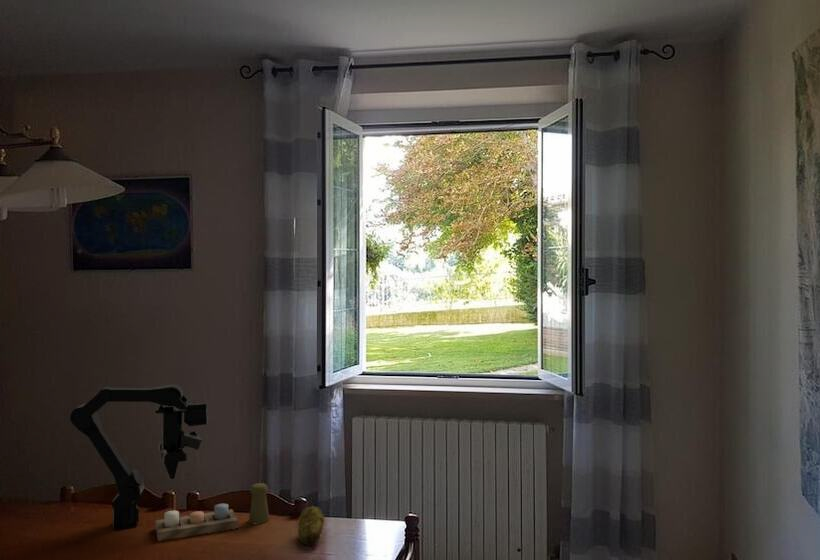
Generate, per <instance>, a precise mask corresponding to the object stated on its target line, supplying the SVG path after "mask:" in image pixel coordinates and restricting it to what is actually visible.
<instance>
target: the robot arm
mask: <svg viewBox="0 0 820 560" xmlns="http://www.w3.org/2000/svg"><path fill="white" fill-rule="evenodd" d="M110 402H114V403H115V402H116V403H117V402H118V403H120V402H121V403H122V402H123V403H124V402H126V403H127V402H131V403H133V402H134V403H135V402H136V403H138V402H139V403H144V402H145V403H148V402H149V403H152V404H156V405H160V406H159V407H157V409H156V410H155V412H154V413H155V414H161V417H162V418H161V422H162V424H161V425H162V426H161V427H162V429H161V434H162V438H161V440H160V441H159V443H158V448H159V449H158V450H159V451H163V453H161V454H160V456H161V459H162V462H163V464H164V466H165V469H166V472H167V474H168V477H169V478H170V480H174V479H175V477H176V472H177V469H178V465H179V463H181V462H186V461H187V452H186V451H185V447H187V448H190V449H194V450H197V451H200V448H201V446H202V443H203V439H202V437H201V436H199V435H198V434H197V431H195V430H192V429H191V430H190V431H189V432H188V433H186V432H185V431H184V429H183V423H184V424H185V425H187V427H203V426H209V425H208V424H209V411H208V402H202V403H191V402H190V401H189V400H188V398H186V396H185V395H184V390H183V388H182V387H181V386H180V385H179V384H177V383H172V384H165V385H160V386H156V387H111V386H106V387H103V388H102V389H101V390H99V392H98V393H97V394H96V395H95V396H93V398H91V399H90V400H89V401H88V402H87V403H86V402H85V403H82V404H80V405H78V406H77V407H76V408H74V409H73V410H72V411H71V413H70V416H69V420H70V423H71V424H72V425H73V426H74V427H75V428H76V429H77V431H79V432H80V433H81V434H83V435H85V436H86V437H87V438H88V440H89V441H90V443H91V444H92V445H93V447H94V448H95V450H96V451H97V453H98V455H99V456H100V458H101V460H102V461H103V462H104V464H105V465H106V467H107V468H108V470H109V471H110V473H111V474H112V476H113V478H114V482H115V487H116V490H117V494H116V496H115V497H114V498H113V500H112V502H111V507H112V509H113V510H112V511H113V513H112V514H113V521H112V529H113V530H114V531H115V530H123V529H129V528H130V529H131V528H135V527H138V523H139V522H140V518H139V517H140V516H139V514H140V513H139V511H140V510H139V505H137V501H136V500H138V499H139V497H140V496H141V494H142V493H143V491H144V488H145V482H144V480H145V477H143V476H142V475H141V473H140V471H139V469H138V468H135V469H134V470H133V469H131V468H129V467H128V465H127V464H126V463H125V461H124V459H123V458H122V456H121V455H120V453H119V451H118V450H117V448H116V447H115V446H114V444H113V442H112V441H111V439H110V438H109V436H108V435H107V433H106V431H105V430H104V429H103V425H102V421H101V417H100V414H99V412H98V411H99V410H101V409H102V408H103V407H104V406H105V405H107V403H110Z"/></svg>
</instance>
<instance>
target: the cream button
mask: <svg viewBox="0 0 820 560" xmlns="http://www.w3.org/2000/svg"><path fill="white" fill-rule="evenodd" d="M179 517H180V511H179V510H168V511H165V512H164V515H163V519H164V528H169V527H175V526H179Z"/></svg>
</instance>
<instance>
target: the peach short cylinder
mask: <svg viewBox="0 0 820 560" xmlns="http://www.w3.org/2000/svg"><path fill="white" fill-rule="evenodd" d="M189 515H190V524H195V523H202V522H204V511H201V510H200V511H197V510H196V511H193V512H190V513H189Z"/></svg>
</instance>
